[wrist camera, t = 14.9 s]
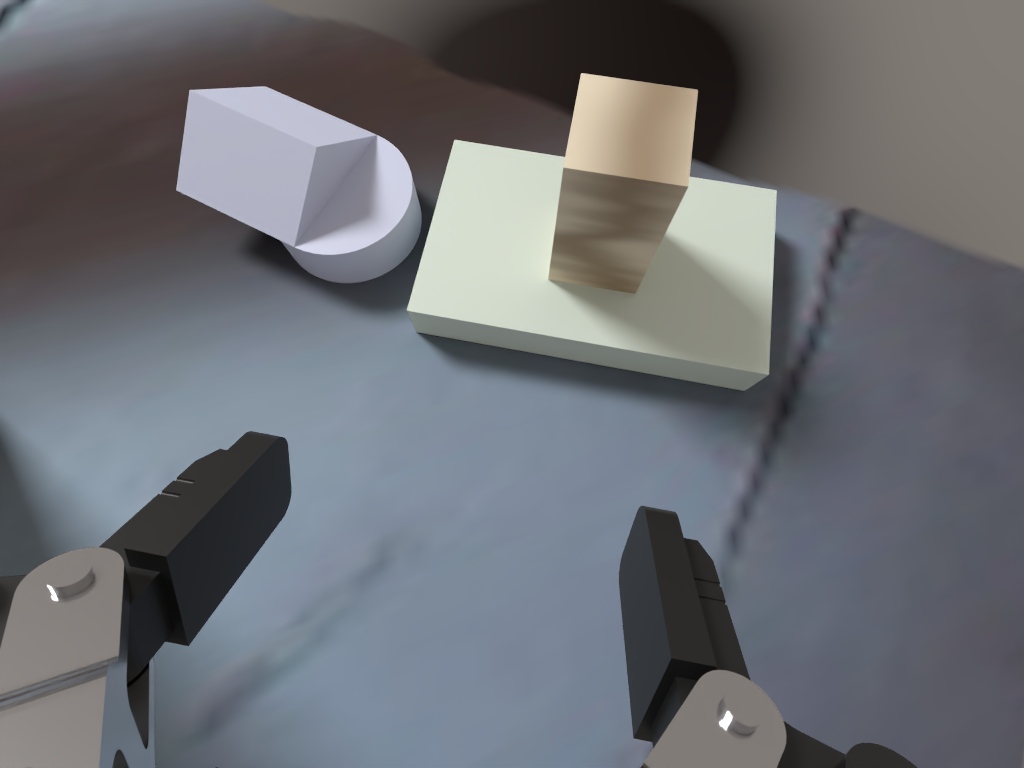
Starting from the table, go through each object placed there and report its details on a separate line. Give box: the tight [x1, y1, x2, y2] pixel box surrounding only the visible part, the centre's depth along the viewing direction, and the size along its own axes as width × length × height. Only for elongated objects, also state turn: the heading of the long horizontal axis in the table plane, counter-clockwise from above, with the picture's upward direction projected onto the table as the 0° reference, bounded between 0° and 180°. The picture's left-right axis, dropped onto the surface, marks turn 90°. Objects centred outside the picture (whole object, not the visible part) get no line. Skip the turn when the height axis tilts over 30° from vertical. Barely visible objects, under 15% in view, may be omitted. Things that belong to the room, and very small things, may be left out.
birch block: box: [548, 73, 698, 294], centre depth 25 cm, size 5×5×9 cm
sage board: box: [407, 140, 777, 391], centre depth 31 cm, size 20×12×3 cm, turn 79°
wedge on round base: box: [176, 86, 422, 283], centre depth 31 cm, size 9×7×13 cm
